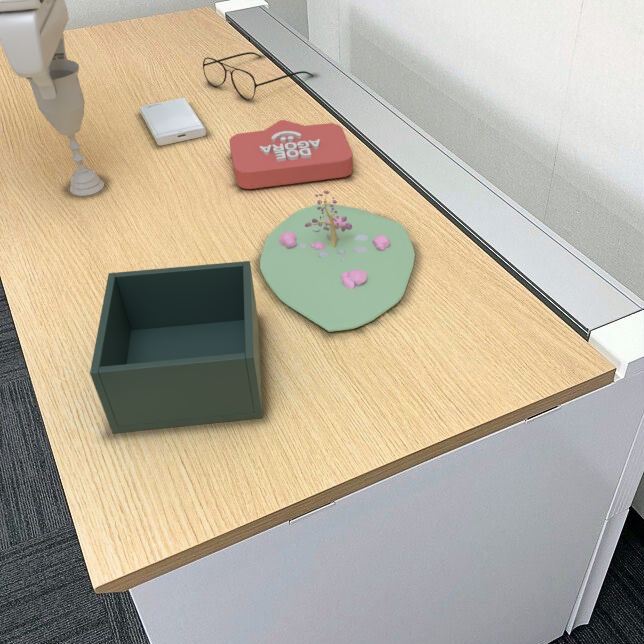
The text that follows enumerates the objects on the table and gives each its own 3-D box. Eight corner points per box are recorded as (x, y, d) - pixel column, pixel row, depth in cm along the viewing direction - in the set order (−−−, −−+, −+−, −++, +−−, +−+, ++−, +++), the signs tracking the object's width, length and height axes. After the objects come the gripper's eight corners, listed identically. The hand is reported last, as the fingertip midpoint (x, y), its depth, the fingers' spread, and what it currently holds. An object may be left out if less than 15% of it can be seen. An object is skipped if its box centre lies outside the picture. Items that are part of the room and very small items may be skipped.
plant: (453, 308, 89) (459, 248, 83) (288, 346, 85) (282, 285, 79) (384, 202, 107) (385, 145, 100) (245, 228, 103) (237, 171, 96)
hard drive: (139, 106, 127) (156, 137, 119) (185, 96, 129) (205, 126, 121) (141, 115, 128) (158, 146, 120) (186, 105, 130) (206, 135, 122)
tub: (112, 433, 76) (89, 373, 70) (126, 332, 87) (108, 272, 81) (263, 418, 77) (253, 357, 71) (258, 320, 89) (249, 260, 82)
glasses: (202, 82, 137) (200, 54, 134) (260, 65, 146) (260, 39, 143) (255, 104, 130) (255, 75, 127) (313, 85, 139) (314, 58, 136)
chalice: (113, 172, 114) (81, 57, 102) (110, 196, 109) (76, 77, 97) (64, 177, 113) (26, 61, 101) (59, 201, 108) (19, 82, 96)
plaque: (336, 110, 119) (355, 155, 109) (336, 132, 122) (355, 178, 112) (226, 122, 117) (234, 170, 107) (229, 144, 120) (238, 193, 109)
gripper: (12, -52, 97) (45, 52, 107) (-25, 2, 83) (17, 117, 93) (61, -55, 98) (89, 49, 108) (32, -2, 83) (68, 113, 93)
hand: (56, 81), depth 100 cm, fingers open, 8 cm apart
